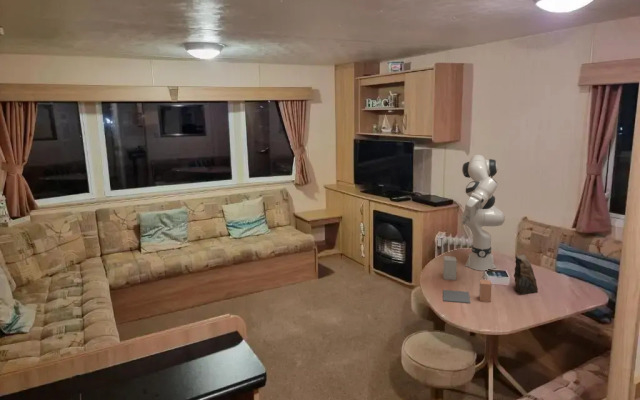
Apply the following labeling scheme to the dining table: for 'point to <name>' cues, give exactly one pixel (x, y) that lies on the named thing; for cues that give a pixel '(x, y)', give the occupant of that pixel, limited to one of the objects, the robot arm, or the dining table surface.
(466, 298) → the grey mat
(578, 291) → the dining table surface
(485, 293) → the tan rectangular pillar
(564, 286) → the dining table surface
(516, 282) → the dark brown rock
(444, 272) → the supplement box
